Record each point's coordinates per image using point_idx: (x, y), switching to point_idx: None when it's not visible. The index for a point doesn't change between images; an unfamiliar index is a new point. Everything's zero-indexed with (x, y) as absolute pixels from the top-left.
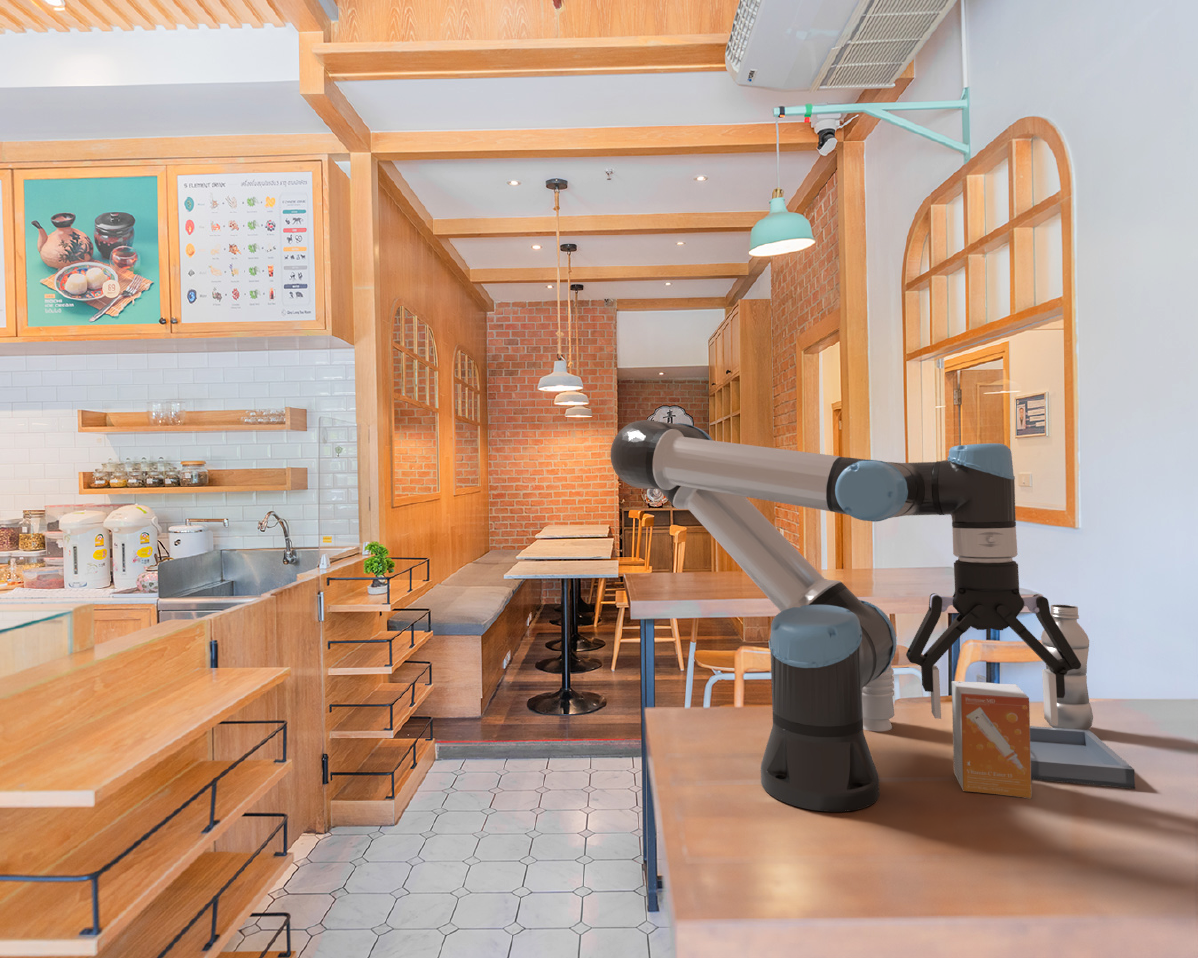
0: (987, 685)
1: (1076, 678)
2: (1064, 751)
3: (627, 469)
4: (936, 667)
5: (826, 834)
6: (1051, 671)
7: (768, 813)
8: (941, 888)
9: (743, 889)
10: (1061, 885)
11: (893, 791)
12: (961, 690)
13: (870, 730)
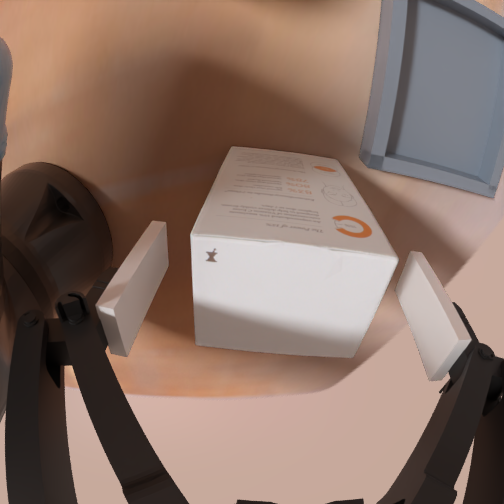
0: (295, 286)
1: None
2: (465, 57)
3: None
4: (118, 335)
5: None
6: (457, 360)
7: None
8: (170, 379)
9: (65, 371)
10: (260, 375)
11: (129, 231)
12: (199, 330)
13: None
